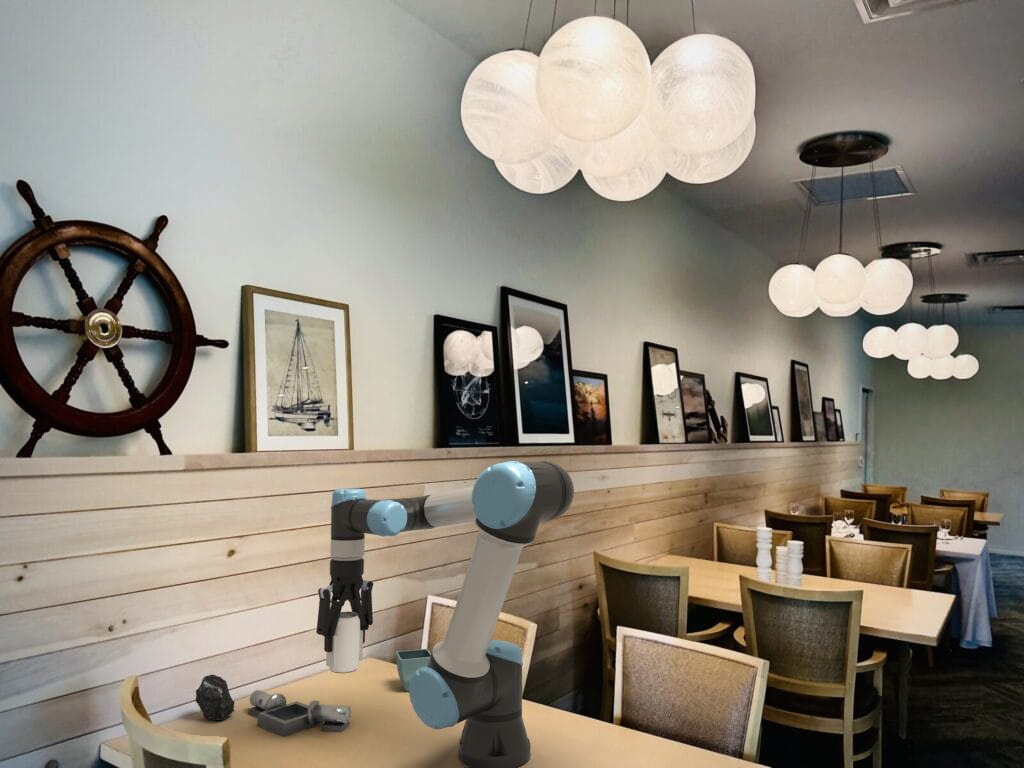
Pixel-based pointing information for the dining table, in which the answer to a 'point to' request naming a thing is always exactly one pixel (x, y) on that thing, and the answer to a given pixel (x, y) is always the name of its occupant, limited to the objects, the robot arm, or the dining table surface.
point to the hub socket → (286, 719)
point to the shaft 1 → (265, 702)
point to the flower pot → (410, 664)
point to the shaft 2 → (329, 716)
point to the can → (347, 643)
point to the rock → (214, 698)
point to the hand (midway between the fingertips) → (344, 662)
